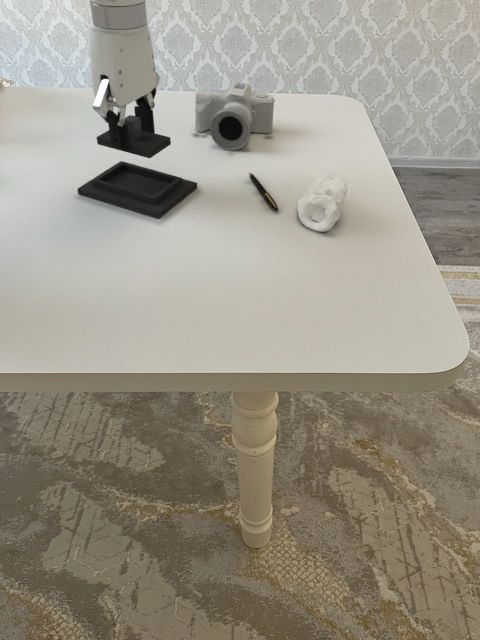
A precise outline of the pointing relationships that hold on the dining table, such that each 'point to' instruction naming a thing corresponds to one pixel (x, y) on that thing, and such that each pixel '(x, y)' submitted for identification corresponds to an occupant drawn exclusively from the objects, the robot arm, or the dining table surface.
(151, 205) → the base pad
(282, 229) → the dining table surface
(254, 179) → the fountain pen
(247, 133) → the digital camera
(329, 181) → the white hollow lump
